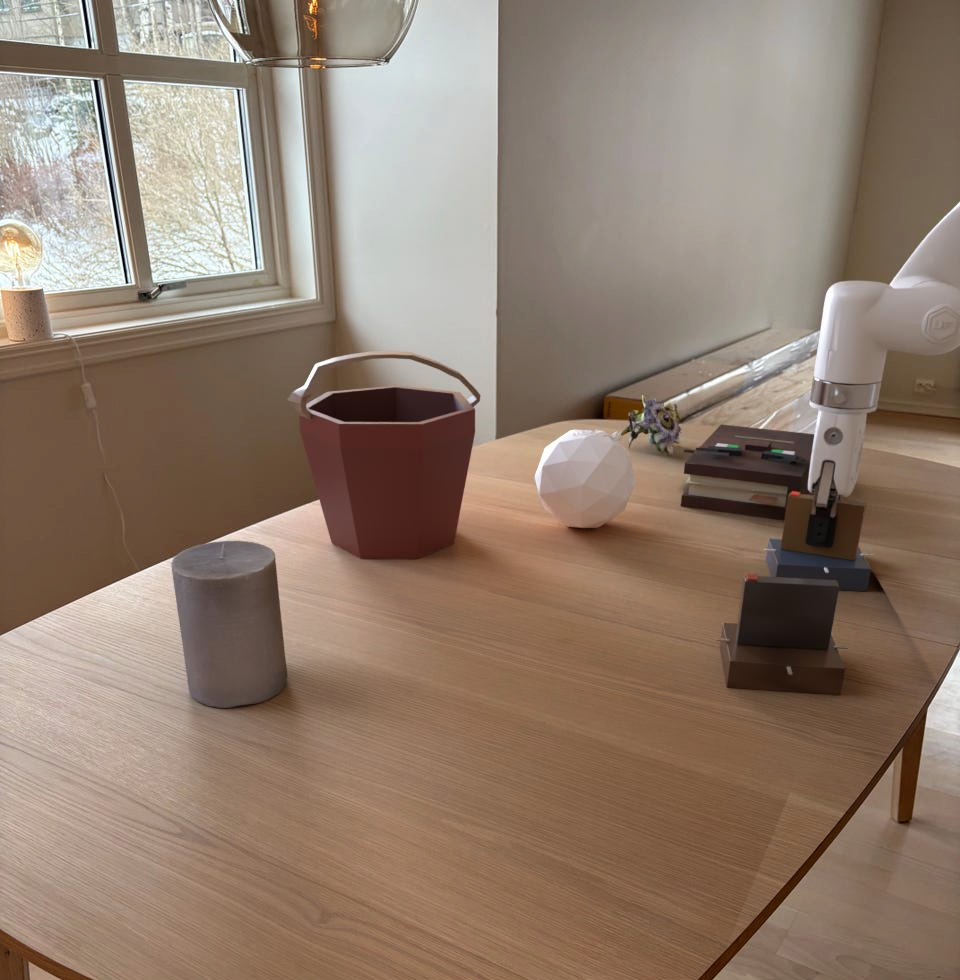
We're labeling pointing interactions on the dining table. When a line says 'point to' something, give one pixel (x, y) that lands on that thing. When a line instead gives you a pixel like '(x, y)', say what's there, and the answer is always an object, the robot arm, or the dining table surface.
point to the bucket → (388, 460)
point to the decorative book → (748, 471)
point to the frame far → (844, 533)
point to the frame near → (786, 612)
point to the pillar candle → (230, 622)
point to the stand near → (780, 666)
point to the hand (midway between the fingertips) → (820, 541)
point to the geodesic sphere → (585, 478)
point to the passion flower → (656, 425)
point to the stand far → (818, 567)
